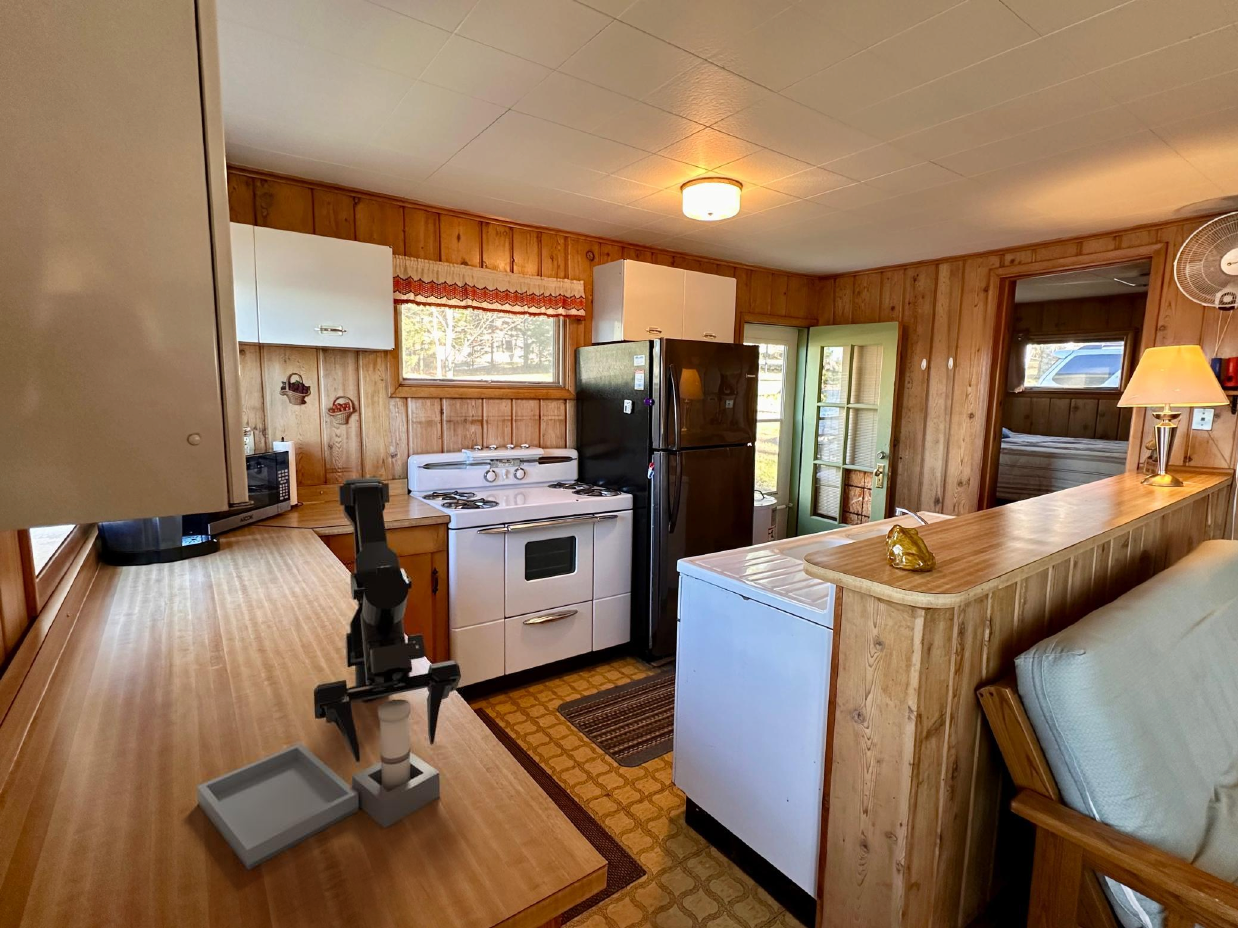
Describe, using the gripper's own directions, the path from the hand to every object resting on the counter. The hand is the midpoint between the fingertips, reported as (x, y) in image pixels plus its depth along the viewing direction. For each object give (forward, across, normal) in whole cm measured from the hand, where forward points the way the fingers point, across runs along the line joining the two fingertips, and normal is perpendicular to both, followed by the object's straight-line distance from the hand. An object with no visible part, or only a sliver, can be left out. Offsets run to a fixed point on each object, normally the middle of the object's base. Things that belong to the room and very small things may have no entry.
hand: (396, 752), depth 80 cm
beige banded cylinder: (+4, 0, +6) cm, 7 cm away
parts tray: (+1, -14, +9) cm, 17 cm away
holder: (+4, 0, +6) cm, 7 cm away
